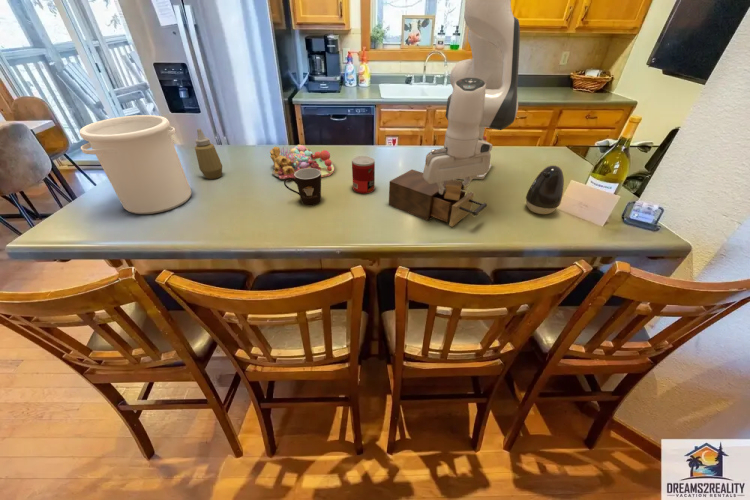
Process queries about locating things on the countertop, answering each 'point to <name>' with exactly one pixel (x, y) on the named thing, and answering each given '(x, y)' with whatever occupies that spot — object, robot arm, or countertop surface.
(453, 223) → the drawer
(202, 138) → the squeeze bottle
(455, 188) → the block
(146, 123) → the bucket
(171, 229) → the countertop surface
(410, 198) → the cabinet
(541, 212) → the dark egg ornament
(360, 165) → the canned food
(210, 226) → the countertop surface
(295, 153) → the candy landscape model
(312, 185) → the coffee mug
